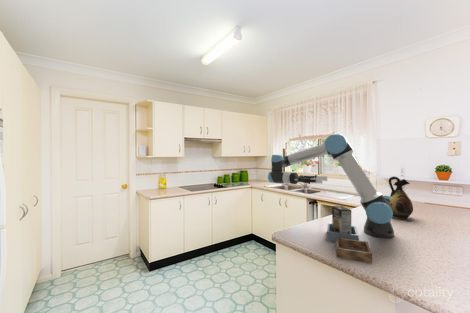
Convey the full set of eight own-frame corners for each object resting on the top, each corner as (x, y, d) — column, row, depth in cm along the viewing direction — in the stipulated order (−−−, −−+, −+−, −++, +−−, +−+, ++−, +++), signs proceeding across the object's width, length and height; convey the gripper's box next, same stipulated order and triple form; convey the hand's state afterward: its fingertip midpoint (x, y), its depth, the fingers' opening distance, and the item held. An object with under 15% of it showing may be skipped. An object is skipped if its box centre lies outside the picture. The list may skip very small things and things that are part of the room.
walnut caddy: (367, 249, 106) (367, 241, 106) (372, 262, 94) (372, 253, 93) (336, 245, 112) (336, 237, 112) (336, 257, 99) (336, 248, 99)
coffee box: (331, 233, 126) (331, 206, 126) (342, 232, 126) (342, 205, 126) (340, 239, 117) (340, 209, 117) (352, 238, 117) (351, 209, 117)
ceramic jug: (411, 216, 160) (411, 176, 160) (414, 222, 147) (414, 178, 147) (383, 213, 169) (383, 175, 169) (384, 218, 156) (384, 177, 156)
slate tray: (355, 235, 125) (355, 226, 125) (358, 245, 112) (358, 235, 112) (327, 231, 132) (327, 223, 132) (327, 240, 118) (327, 231, 118)
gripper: (297, 181, 152) (329, 183, 140) (283, 186, 132) (319, 188, 120) (296, 171, 152) (329, 172, 140) (283, 174, 132) (319, 175, 120)
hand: (324, 179), depth 130 cm, fingers open, 13 cm apart
